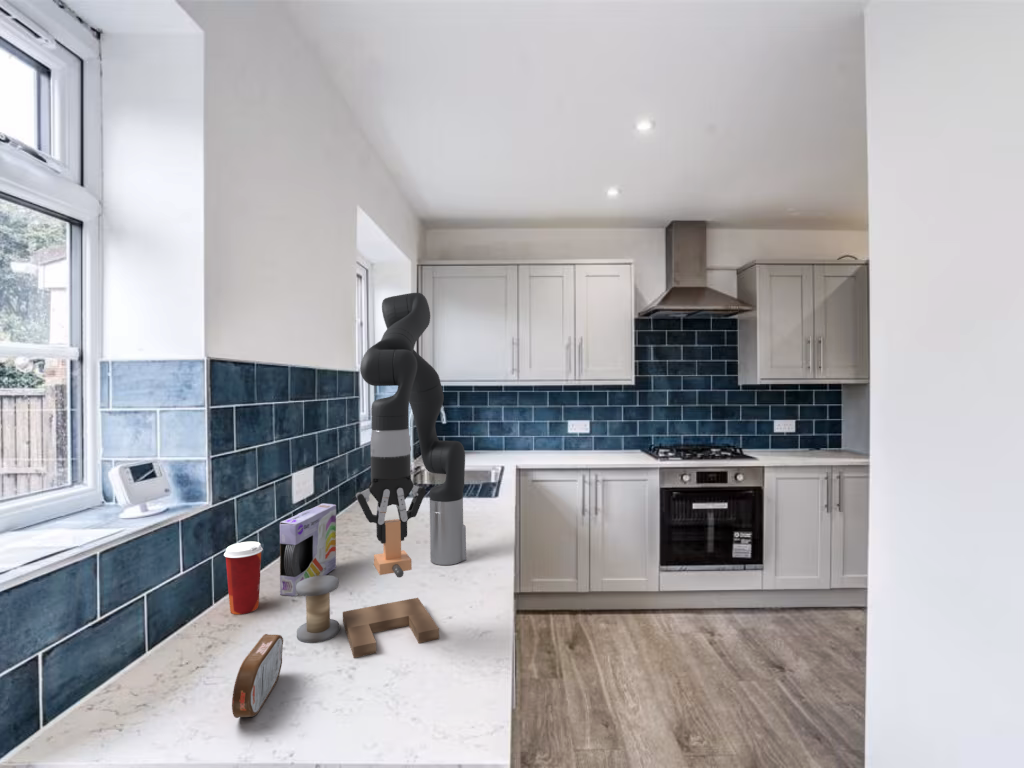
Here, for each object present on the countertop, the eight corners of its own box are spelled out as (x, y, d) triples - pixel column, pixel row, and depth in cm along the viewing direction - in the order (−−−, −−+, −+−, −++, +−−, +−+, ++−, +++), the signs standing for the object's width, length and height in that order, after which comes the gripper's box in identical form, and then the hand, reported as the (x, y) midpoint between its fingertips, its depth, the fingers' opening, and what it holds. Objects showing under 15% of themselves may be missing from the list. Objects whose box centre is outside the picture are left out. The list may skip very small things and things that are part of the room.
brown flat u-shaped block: (418, 606, 115) (417, 597, 115) (439, 638, 101) (438, 628, 101) (342, 621, 109) (342, 611, 109) (353, 658, 94) (353, 647, 94)
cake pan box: (294, 599, 120) (293, 522, 120) (275, 597, 121) (274, 521, 121) (338, 569, 139) (337, 503, 139) (321, 568, 140) (320, 502, 140)
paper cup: (271, 604, 118) (270, 542, 118) (243, 619, 110) (242, 553, 110) (244, 599, 120) (243, 539, 120) (215, 613, 113) (214, 549, 113)
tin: (267, 673, 90) (267, 624, 90) (286, 672, 90) (286, 623, 90) (229, 731, 75) (228, 673, 75) (252, 730, 75) (251, 671, 75)
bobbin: (337, 620, 109) (336, 572, 109) (341, 637, 102) (341, 586, 102) (296, 628, 106) (295, 579, 106) (297, 646, 99) (296, 593, 99)
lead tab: (404, 560, 105) (403, 515, 105) (416, 576, 96) (416, 528, 96) (374, 564, 103) (373, 519, 102) (384, 582, 93) (383, 532, 93)
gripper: (421, 447, 107) (422, 531, 107) (350, 452, 101) (351, 541, 102) (431, 452, 100) (432, 541, 101) (356, 457, 95) (357, 552, 95)
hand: (391, 540), depth 101 cm, fingers closed on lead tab, 3 cm apart
